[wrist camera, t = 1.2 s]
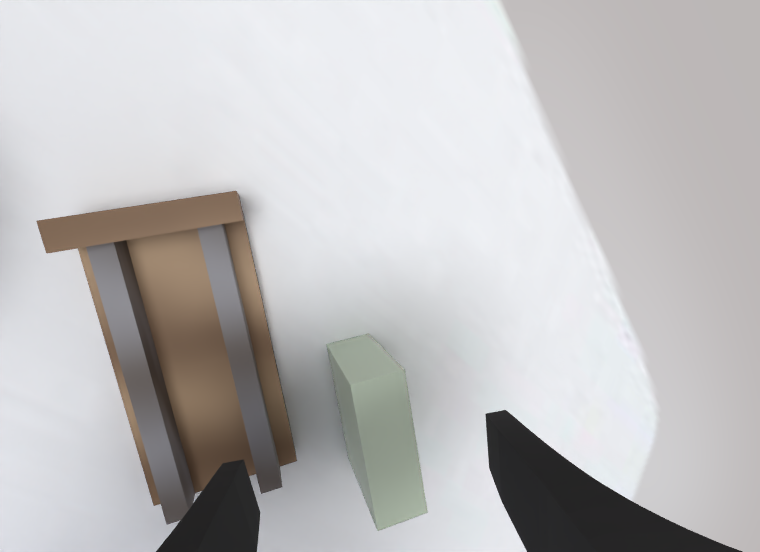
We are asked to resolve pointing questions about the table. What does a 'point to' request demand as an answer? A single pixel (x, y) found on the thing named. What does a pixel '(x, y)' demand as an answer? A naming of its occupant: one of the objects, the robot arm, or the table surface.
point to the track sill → (184, 339)
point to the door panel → (378, 429)
